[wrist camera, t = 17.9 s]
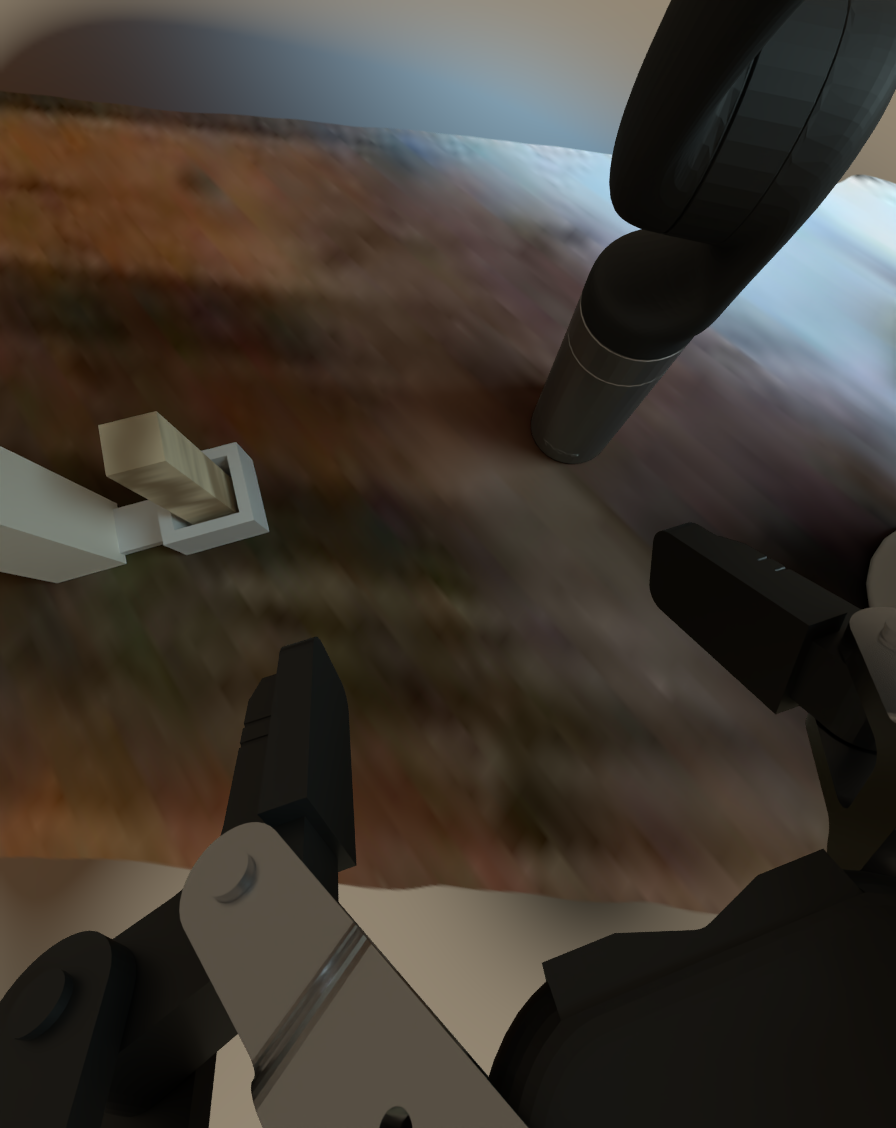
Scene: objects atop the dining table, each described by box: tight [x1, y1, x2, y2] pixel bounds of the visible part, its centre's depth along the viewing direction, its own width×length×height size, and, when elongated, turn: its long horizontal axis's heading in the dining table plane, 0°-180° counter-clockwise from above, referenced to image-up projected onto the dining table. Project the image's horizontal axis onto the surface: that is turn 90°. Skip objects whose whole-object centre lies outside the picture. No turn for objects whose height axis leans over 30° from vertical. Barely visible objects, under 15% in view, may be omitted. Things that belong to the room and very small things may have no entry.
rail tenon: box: [98, 411, 239, 525], centre depth 39 cm, size 4×4×14 cm
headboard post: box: [0, 442, 269, 583], centre depth 32 cm, size 22×9×28 cm, turn 108°
